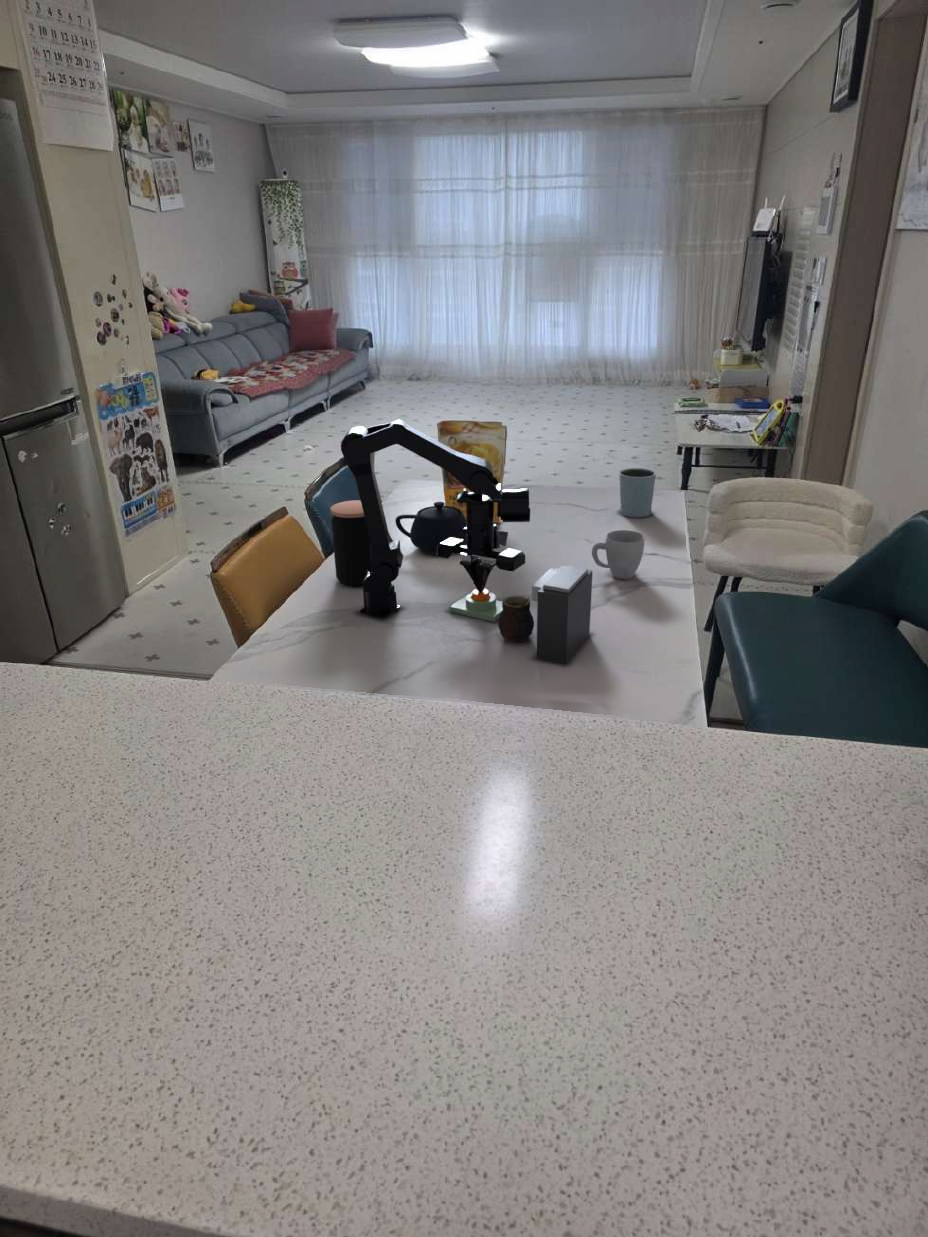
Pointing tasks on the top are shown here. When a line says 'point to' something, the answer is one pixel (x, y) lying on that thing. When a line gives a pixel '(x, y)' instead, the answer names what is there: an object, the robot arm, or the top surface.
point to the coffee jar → (350, 542)
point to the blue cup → (636, 491)
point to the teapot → (434, 526)
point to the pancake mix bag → (473, 452)
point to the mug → (621, 552)
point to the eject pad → (478, 607)
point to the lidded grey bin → (562, 612)
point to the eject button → (480, 595)
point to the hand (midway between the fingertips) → (480, 591)
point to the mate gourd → (516, 619)
